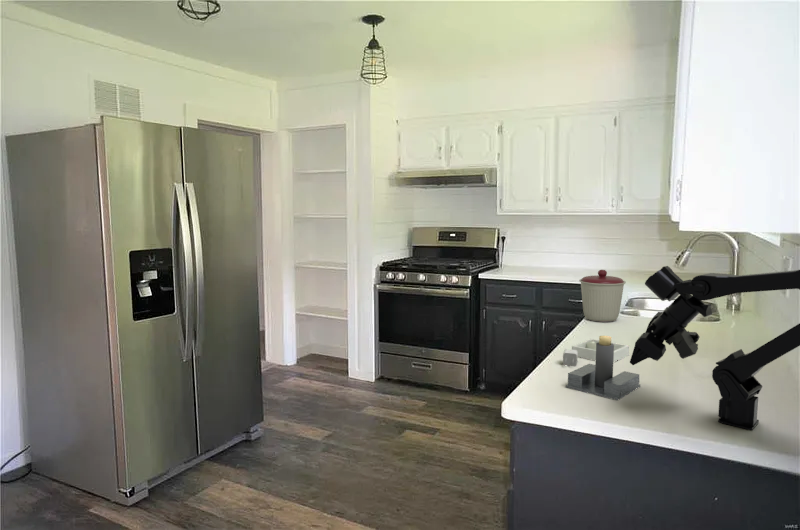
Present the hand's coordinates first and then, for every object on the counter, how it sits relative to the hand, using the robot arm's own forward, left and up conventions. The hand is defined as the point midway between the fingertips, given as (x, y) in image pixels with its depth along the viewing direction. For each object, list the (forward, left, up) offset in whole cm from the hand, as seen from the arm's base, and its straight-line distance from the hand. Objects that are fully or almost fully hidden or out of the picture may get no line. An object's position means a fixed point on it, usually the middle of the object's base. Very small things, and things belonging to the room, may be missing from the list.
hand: (636, 356), depth 137 cm
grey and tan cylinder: (+8, 0, -9) cm, 12 cm away
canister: (+46, -79, -10) cm, 92 cm away
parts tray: (+22, -28, -10) cm, 37 cm away
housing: (+8, 0, -10) cm, 13 cm away
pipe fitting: (+23, -29, -10) cm, 38 cm away
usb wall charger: (+24, -12, -10) cm, 29 cm away
